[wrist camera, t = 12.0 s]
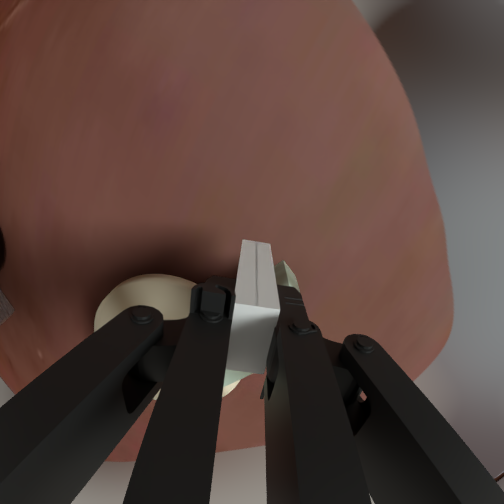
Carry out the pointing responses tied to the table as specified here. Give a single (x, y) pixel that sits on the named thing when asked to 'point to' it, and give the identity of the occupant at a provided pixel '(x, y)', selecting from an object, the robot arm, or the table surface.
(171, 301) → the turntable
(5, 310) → the vee block
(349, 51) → the table surface
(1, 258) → the supplement bottle
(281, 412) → the robot arm
